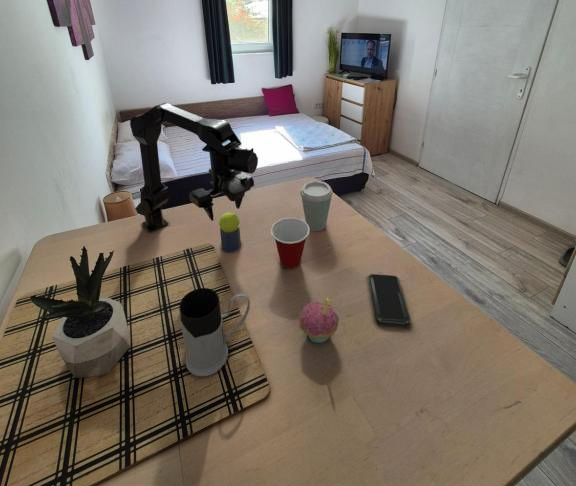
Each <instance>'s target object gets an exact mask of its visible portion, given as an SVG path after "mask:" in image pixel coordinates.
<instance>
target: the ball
mask: <svg viewBox="0 0 576 486" xmlns="http://www.w3.org/2000/svg"><path fill="white" fill-rule="evenodd" d="M218 224H219V229H220V228H221V229H222V230H223V231H224V232H227V233H230V232H234V231H236V230H237V228H238V227H239V226H240V219H239V217H238V215H237V214H236V213H234V212H226V213H223V215H221V217H220V218H219V221H218Z"/></svg>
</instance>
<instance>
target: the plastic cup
mask: <svg viewBox="0 0 576 486" xmlns="http://www.w3.org/2000/svg"><path fill="white" fill-rule="evenodd" d="M310 230H311V229H310V228H309V226H308V224H307V223H306V220H303V219H300V218H298V217H292V216H291V217H289V216H288V217H283V218H280V219H279V220H276V221H275V222H274V223H273V224H272V225H271V229H270V233H271V236H272V238H273V239H274V241H275V245H276V249H277V254H278V257H279V262H280V265H281V266H282V267H283V268H285V269H290V270H292V269H295V268H298V267H299V266H300V264H301V261H302V257H303V253H304V248H305V244H306V241H307V238H308V236H309V235H310V232H311V231H310Z"/></svg>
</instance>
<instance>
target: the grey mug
mask: <svg viewBox="0 0 576 486" xmlns="http://www.w3.org/2000/svg"><path fill="white" fill-rule="evenodd" d="M239 298H245V299H246V300H247V305H246V310H245V312H244V314H243V316H242V318H241V319H240V321H239V322H238V323H237V324H236V325H235V326H233V328H232V329H231V330H230V331H229V332H228V333H227V334H226V336H225V330H224V322H223V319H224V318H226V317H228V316H229V315H230V314H231V305H232V304H233V302H234V301H235V300H237V299H239ZM250 308H251V301H250V298H249V296H248V295H247V294H246V293H238V294H235V295H234V296H232V297H231V298H230V300H229V301H228V303H227V312H225V313H222V311H221V302H220V296H219V294H218V292H217V291H215V290H214V289H212V288H208V287H200V288H196V289H195V288H194V289H193V290H191V291H189V292H188V293H186V294H185V295H184V296H183V297H182V298H181V300H180V302H179V306H178V310H179V321H180V326H181V333H182V337H183V343H184V348H185V366H186V369H187V371H189V373H191V374H192V375H195V376H197V377H208V376H211V375H213V374H215V373H218V371H219V370H221V369H222V368H223V366H224V365H225V364H226V362H227V359H228V357H229V356H228V355H229V349H228V346H227V345H228V344H227V341H228V339H229V338H230V337H231V336H232V335H233V334H234V333H235V332H236V331H237V330H238V329H239V328H240V326H242V325H243V323H244V322H245V320H246V319H247V318H248V315H249V312H250Z"/></svg>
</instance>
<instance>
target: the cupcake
mask: <svg viewBox="0 0 576 486" xmlns="http://www.w3.org/2000/svg"><path fill="white" fill-rule="evenodd" d="M330 300H331V299H330V296H328V297H327V298H326V299H325V302H319V301H314V302H309V303H308V304H306V305H304V307H303V308H302V309H301V311H300V313H299V315H298V316H299V318H298V319H299V327H300V329H301V331H302V332H303V333H304V334H305V335H307V337H308V338H309V340H311V342H313V343H316V344H322V343H325V342H327V340H328V339H329V338H330V337H332V336H334V334H335V333H336V332H337V329H338V325H339V321H340V320H339V315H338V313H337V312H336V311H335V310H334V308H333V307H331V305H330V304H329V303H330Z"/></svg>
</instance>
